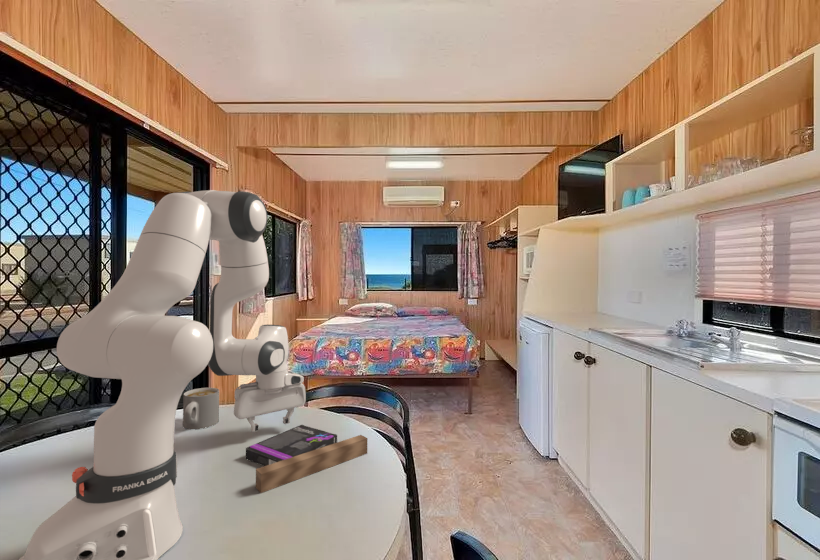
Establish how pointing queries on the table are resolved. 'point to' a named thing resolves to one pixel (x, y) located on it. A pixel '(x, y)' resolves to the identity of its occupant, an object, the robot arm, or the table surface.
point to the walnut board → (309, 463)
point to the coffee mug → (200, 408)
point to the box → (289, 445)
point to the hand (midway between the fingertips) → (270, 427)
